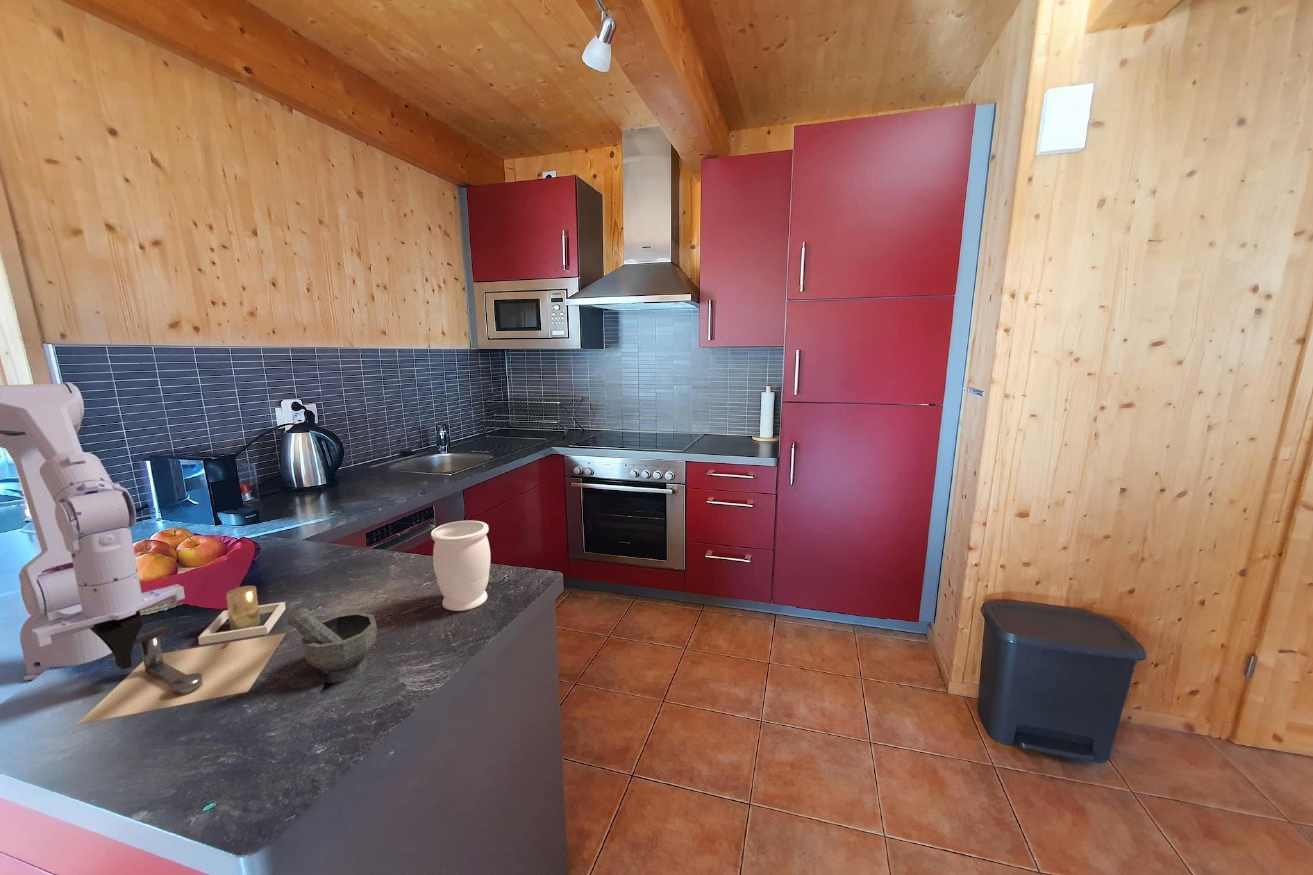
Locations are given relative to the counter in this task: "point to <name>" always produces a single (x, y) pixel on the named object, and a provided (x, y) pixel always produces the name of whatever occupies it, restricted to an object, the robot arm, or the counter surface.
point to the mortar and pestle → (336, 642)
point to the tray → (213, 637)
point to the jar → (462, 563)
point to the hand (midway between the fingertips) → (124, 666)
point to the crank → (161, 669)
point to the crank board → (218, 665)
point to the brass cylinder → (243, 607)
